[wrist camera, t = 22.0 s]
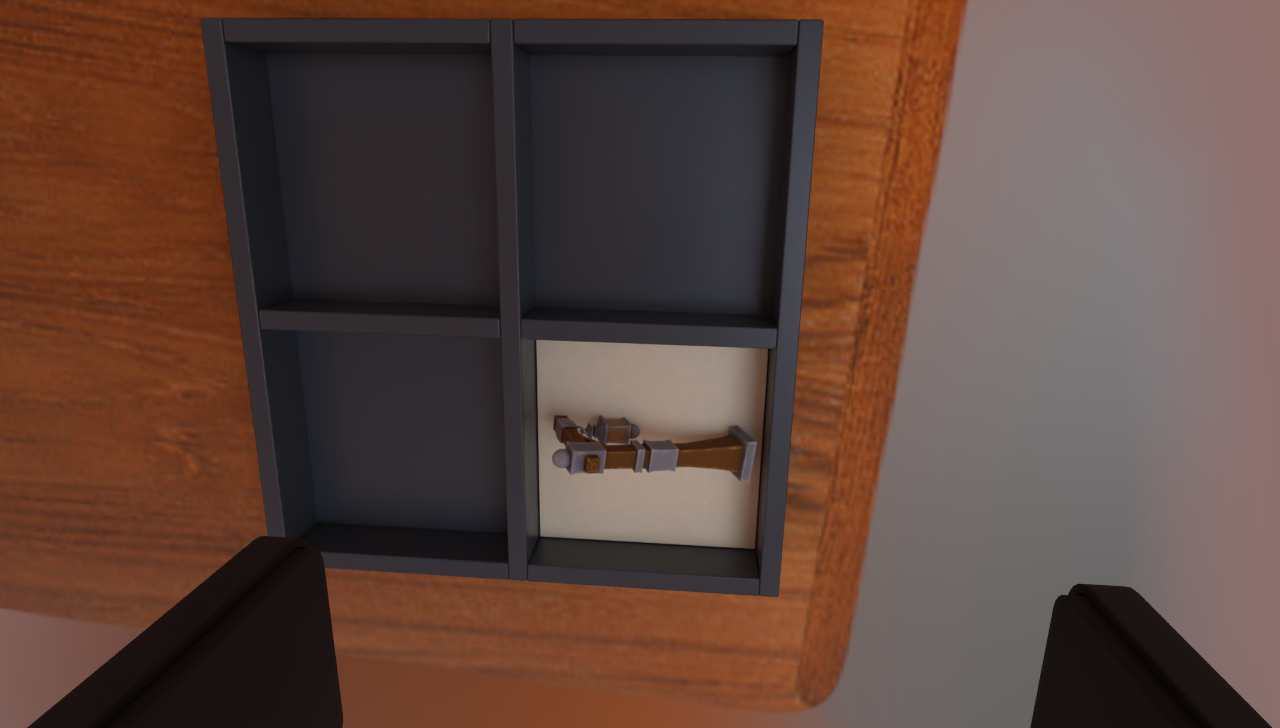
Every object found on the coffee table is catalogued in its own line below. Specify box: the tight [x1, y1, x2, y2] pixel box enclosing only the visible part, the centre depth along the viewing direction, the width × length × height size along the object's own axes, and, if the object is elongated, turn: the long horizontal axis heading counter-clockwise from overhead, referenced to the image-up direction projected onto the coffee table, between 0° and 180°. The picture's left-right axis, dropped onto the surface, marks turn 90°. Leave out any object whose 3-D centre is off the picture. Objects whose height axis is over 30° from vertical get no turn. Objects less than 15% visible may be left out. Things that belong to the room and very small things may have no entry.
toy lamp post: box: [552, 415, 757, 483], centre depth 29 cm, size 2×8×4 cm, turn 82°
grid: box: [201, 18, 824, 597], centre depth 29 cm, size 22×22×3 cm
